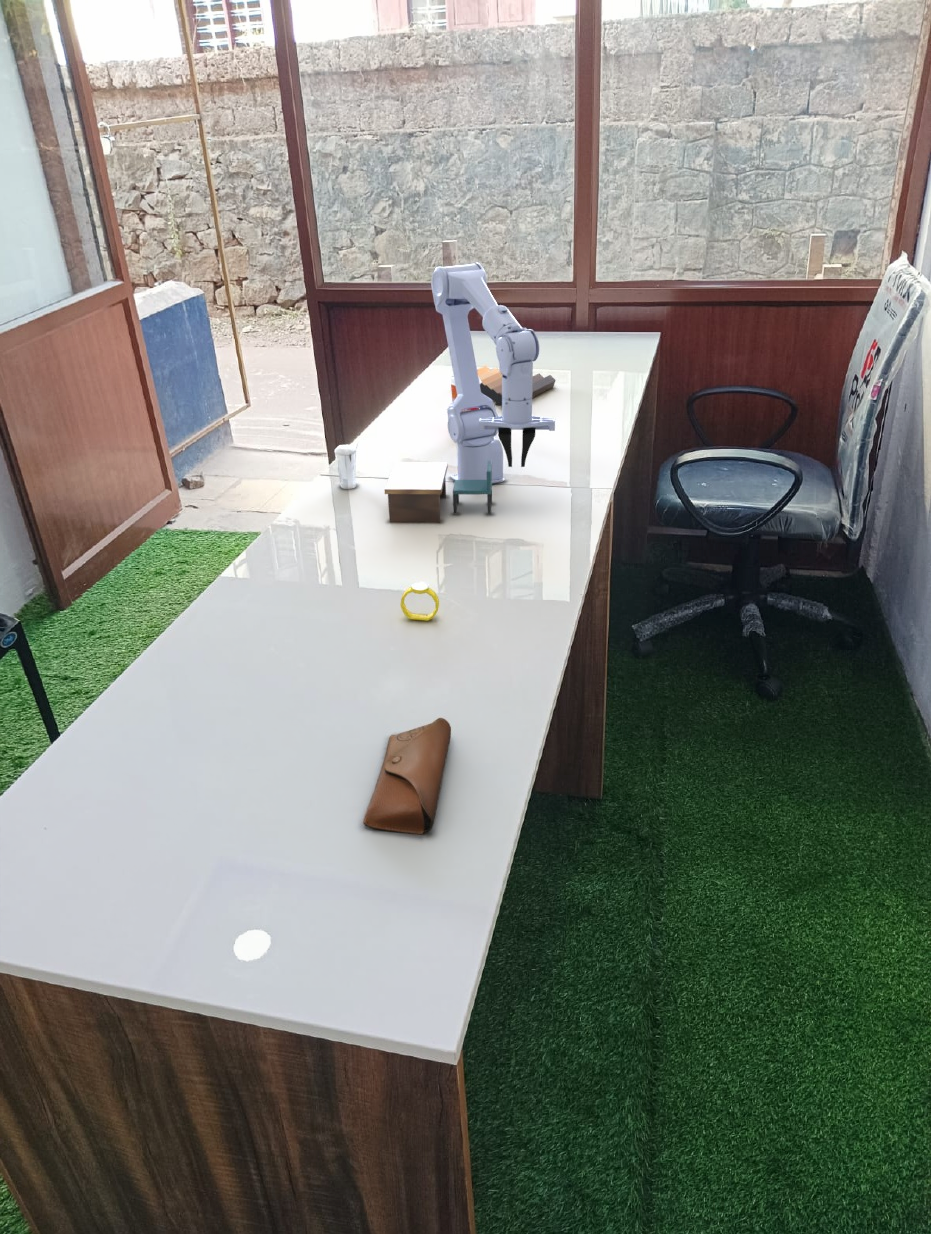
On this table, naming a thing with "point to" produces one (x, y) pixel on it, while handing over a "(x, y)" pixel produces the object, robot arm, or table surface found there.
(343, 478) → the milkshake
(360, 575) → the table surface
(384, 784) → the sunglasses case
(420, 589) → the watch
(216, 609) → the table surface
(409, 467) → the desk
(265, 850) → the table surface
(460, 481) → the chair
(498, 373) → the pan flute
